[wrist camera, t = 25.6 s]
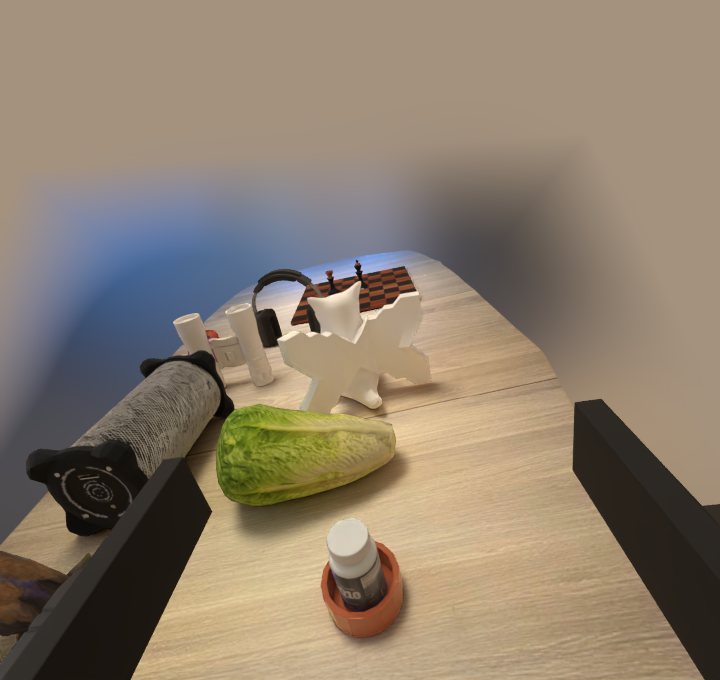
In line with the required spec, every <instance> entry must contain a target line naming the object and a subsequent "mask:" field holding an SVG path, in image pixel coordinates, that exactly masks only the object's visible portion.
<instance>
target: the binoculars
mask: <svg viewBox="0 0 720 680" xmlns="http://www.w3.org/2000/svg"><path fill="white" fill-rule="evenodd" d="M225 313H226V315H227V317H228V320H229V323H230V325H231V328H232V330H233V331H234V333H235V335H234V336H231V337H227V338H220V339H218V338H214V339H213V338H212V339H209V340H208V339H207V335H206V331H205V328H204V325H203V323H202V320H201V318H200V315H199V314H198V313H193V314H189V315H185V316H182V317H180V318H178V319H176V320H175V321H174V322H173V323H174V325H175V327H176V330H177V332H178V334H179V336H180V338H181V340H182V341H183V343H184V345H185V346H186V348H187V349H188V351H189V354H190V355H191V354H193V353H195V352H197V351H198V350H205V351H207V352H208V353H210V354H212V355H213V352H214V354H215V356H216V359H217V361H218V363H217V362H216V370H217V373H218V375H219V376H220V377H221V379H222V382H223V384H224V387H226V383H225V381H224V377H223V374H222V373H221V371H220V369H222V368H224V366H225V367H235V366H239V365H242V364H244V363H246V362H247V365H248V368H249V371H250V375H251V378H252V380H253V382H254V384H255V386H264V385H267V384H269V383H271V382H272V381H273V380H274V376H273V371H272V369H271V366H270V364H269V361H268V359H267V356H266V353H265V351H264V348H263V344H262V342H261V339H260V336H259V333H258V328H257V323H256V318H255V315H254V312H253V310H252V307H251V304H240V305H237V306H234V307H231V308H229V309H228V310H226V312H225ZM208 341H209V342H208ZM209 344H210V345H209ZM211 349H213V352H212V350H211ZM213 357H214V355H213ZM214 358H215V357H214ZM215 361H216V360H215Z"/></svg>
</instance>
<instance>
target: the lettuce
mask: <svg viewBox="0 0 720 680" xmlns="http://www.w3.org/2000/svg"><path fill="white" fill-rule="evenodd" d="M395 444H396V438H395V434H394V431H393V427H392V424H390V423H386V422H383V421H374V420H368V419H364V418H360V417H356V416H351V415H347V414H322V413H316V412H309V411H301V410H287V409H280V408H274V407H270V406H266V405H262V404H258V405H253V406H249V407H245V408H240V409H236V410H234V411H233V412H232V413H231V414H230V415H229V416H228V418H227V419H226V421H225V422H224V424H223V426H222V429H221V433H220V436H219V441H218V446H217V452H216V470H217V477H218V483H219V485H220V487H221V489H222V491H223V493H224V495H225V496H226V497H227V498H229V499H230V500H231V501H234V502H238V503H242V504H246V505H250V506H256V507H257V506H264V505H271V504H276V503H280V502H283V501H287V500H291V499H296V498H301V497H306V496H309V495H312V494H316V493H319V492H323V491H326V490H329V489H333V488H336V487H339V486H342V485H345V484H348V483H351V482H353V481H355V480H357V479H359V478H361V477H364V476H365V475H367V474H369V473H371V472H373V471H375V470H376V469H378V468H380V467H381V466H383V465H385V464H386V463H387V462H388V461H389V460H390V459H391V458H393V457H394V454H395Z"/></svg>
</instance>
